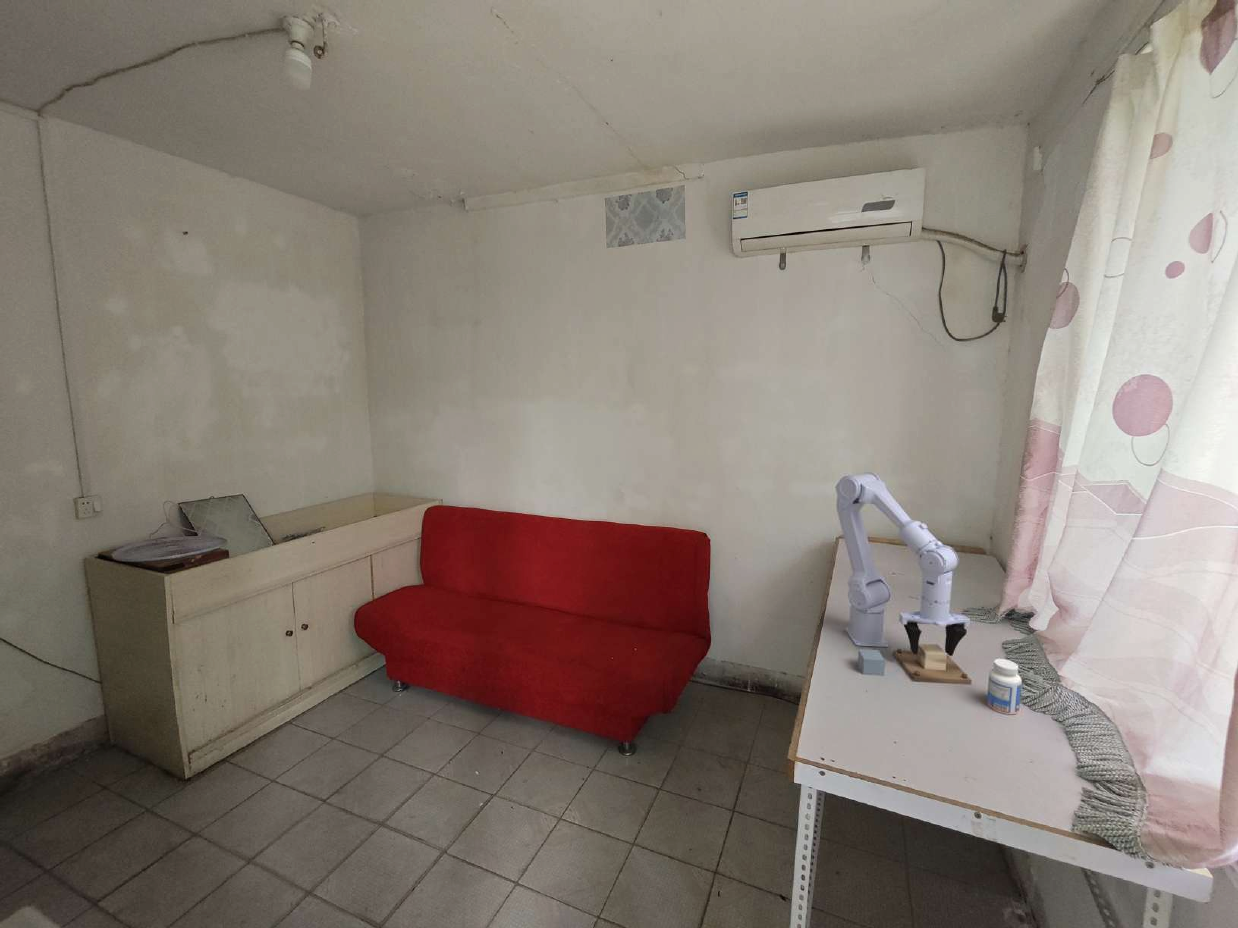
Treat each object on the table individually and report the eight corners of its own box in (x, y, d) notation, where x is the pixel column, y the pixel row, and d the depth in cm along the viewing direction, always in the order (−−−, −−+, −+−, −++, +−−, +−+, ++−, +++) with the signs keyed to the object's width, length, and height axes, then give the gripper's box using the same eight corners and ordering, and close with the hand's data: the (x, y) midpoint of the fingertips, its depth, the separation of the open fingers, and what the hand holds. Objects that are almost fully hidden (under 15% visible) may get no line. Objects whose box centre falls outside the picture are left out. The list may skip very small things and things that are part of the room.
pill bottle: (1005, 698, 109) (1009, 656, 108) (1025, 714, 104) (1030, 670, 103) (980, 699, 109) (984, 657, 108) (999, 715, 104) (1003, 671, 102)
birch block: (916, 658, 124) (917, 643, 123) (936, 659, 123) (937, 644, 123) (924, 669, 119) (925, 653, 119) (945, 670, 119) (946, 654, 118)
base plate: (893, 653, 128) (893, 647, 128) (945, 656, 126) (945, 649, 126) (913, 681, 116) (914, 674, 116) (971, 684, 115) (971, 677, 114)
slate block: (857, 664, 124) (858, 649, 123) (877, 665, 123) (878, 650, 123) (863, 674, 120) (864, 658, 119) (884, 676, 119) (884, 660, 118)
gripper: (909, 604, 116) (905, 660, 118) (979, 606, 114) (973, 663, 116) (897, 591, 123) (893, 644, 125) (962, 593, 121) (957, 647, 123)
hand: (931, 652), depth 121 cm, fingers open, 7 cm apart
